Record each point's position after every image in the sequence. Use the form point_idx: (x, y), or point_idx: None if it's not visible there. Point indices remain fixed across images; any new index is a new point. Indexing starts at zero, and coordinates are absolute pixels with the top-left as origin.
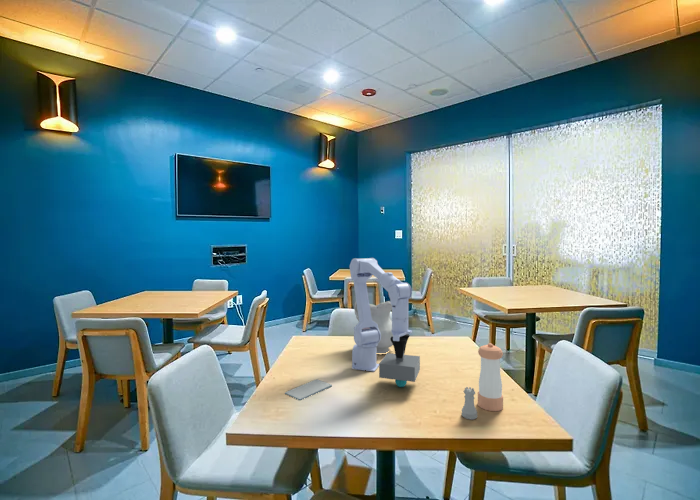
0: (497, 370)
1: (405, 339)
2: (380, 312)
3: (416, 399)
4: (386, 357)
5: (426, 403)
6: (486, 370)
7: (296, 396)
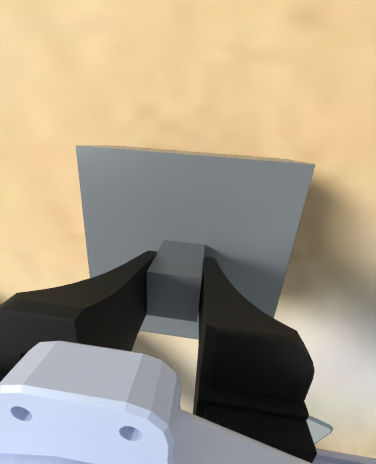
0: None
1: (264, 354)
2: None
3: (305, 147)
4: (163, 324)
5: (341, 103)
6: None
7: (317, 437)
